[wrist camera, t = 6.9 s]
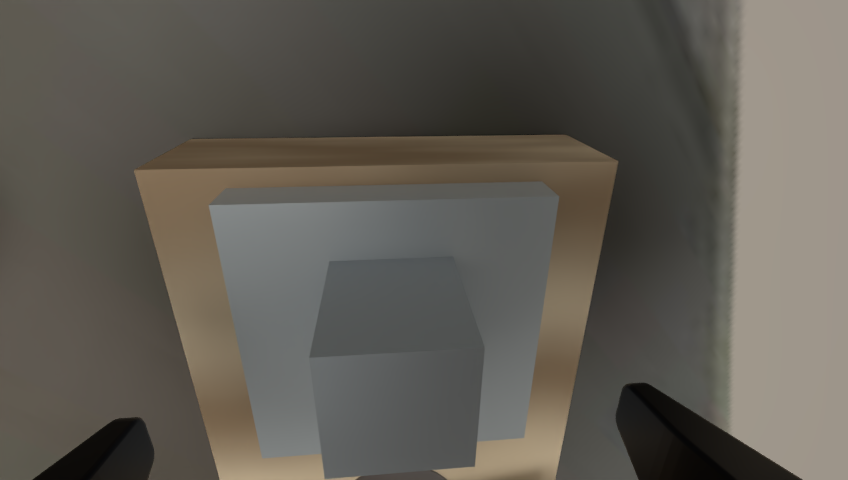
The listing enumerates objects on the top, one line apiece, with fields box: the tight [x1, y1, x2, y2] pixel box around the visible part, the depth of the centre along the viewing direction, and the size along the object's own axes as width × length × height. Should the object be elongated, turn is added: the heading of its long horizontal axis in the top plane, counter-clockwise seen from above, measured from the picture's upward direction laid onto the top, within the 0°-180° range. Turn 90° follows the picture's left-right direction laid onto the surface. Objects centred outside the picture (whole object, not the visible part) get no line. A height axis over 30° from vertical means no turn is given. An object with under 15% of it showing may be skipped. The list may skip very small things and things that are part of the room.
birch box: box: [134, 135, 618, 480], centre depth 16 cm, size 16×12×4 cm
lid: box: [209, 181, 559, 479], centre depth 11 cm, size 8×8×5 cm
